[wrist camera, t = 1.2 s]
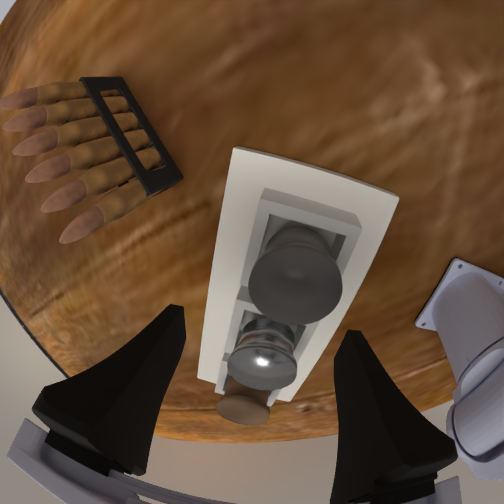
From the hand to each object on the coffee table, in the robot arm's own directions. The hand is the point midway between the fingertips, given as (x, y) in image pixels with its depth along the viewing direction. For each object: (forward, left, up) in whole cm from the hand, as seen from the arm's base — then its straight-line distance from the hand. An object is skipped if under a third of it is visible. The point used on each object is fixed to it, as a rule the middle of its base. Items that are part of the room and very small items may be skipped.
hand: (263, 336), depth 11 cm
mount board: (-1, +8, -11) cm, 14 cm away
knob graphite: (-1, 0, -8) cm, 8 cm away
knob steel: (-1, +8, -7) cm, 11 cm away
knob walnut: (-1, +16, -8) cm, 18 cm away
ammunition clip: (+13, -5, -11) cm, 18 cm away
